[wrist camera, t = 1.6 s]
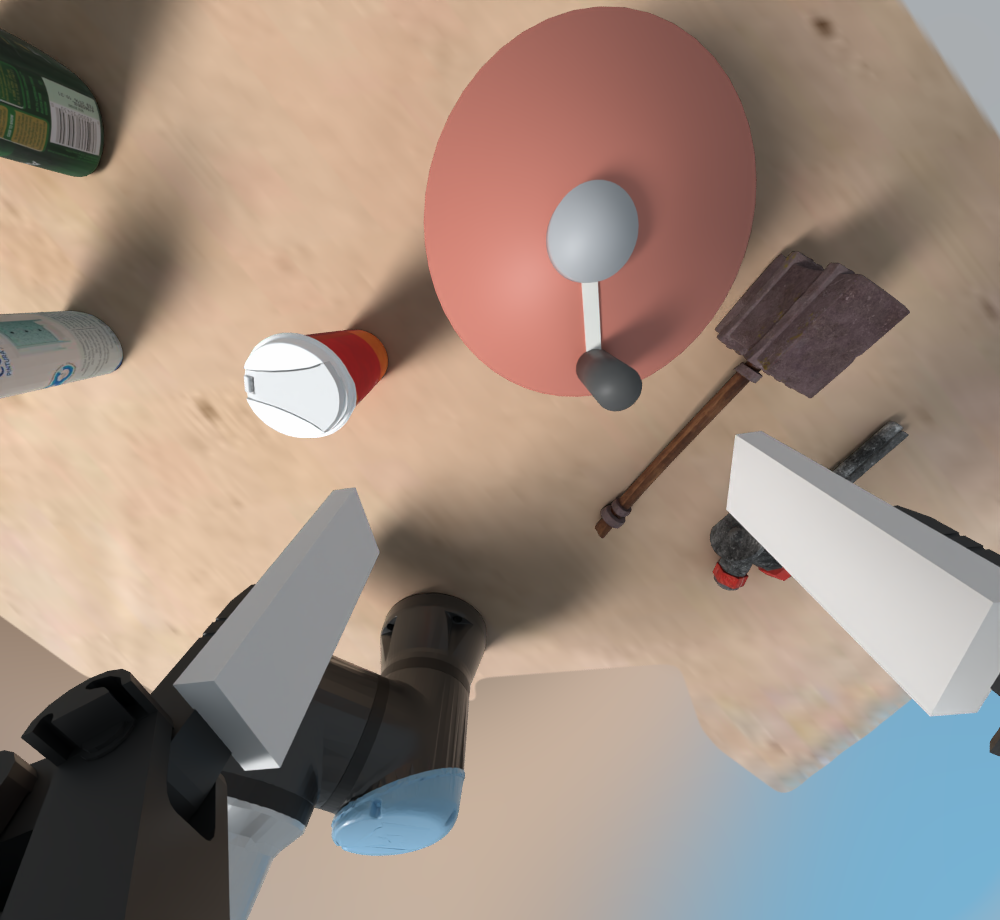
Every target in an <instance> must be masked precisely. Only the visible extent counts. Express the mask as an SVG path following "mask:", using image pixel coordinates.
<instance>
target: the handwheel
mask: <svg viewBox="0 0 1000 920" xmlns="http://www.w3.org/2000/svg"><path fill="white" fill-rule="evenodd" d="M755 200H756V165H755V152H754V147H753V142H752V137H751V132H750V127H749V124H748V121H747V118H746V115H745V112H744V109H743V106H742V103H741V101H740V99H739V97H738V95H737V93H736V91H735V89H734V87H733V85H732V83H731V81H730V79H729V77H728V76H727V74H726V73H725V72H724V70H723V69H722V68H721V66H720V65H719V63H718V62H717V61H716V59H715V58H714V56H713V55H712V54H711V53H710V52H708V51H707V50H706V49H705V48H704V47H703V46H702V45H701V44H700V43H699V42H698V41H697V40H696V39H695V38H694V37H693V36H691V35H690V34H688V33H687V32H685V31H684V30H682V29H681V28H679V27H678V26H677V25H675V24H673V23H671V22H669V21H667V20H664V19H662V18H660V17H658V16H655V15H653V14H651V13H647V12H643V11H638V10H634V9H630V8H625V7H593V8H586V9H579V10H573V11H570V12H567V13H564V14H561V15H558V16H555V17H552V18H549V19H546V20H545V21H543V22H541V23H539V24H537V25H535V26H533V27H531V28H529V29H528V30H526V31H524V32H522V33H521V34H520V35H518V36H517V37H516V38H514V39H513V40H511V41H510V42H509V43H507V44H506V45H505V46H503V47H502V48H501V49H500V50H499V51H498V52H497V53H496V54H495V55H494V56H493V57H492V58H491V59H490V60H489V61H488V62H487V63H486V64H485V65H484V66H483V67H482V68H481V69H480V70H479V71H478V73H477V74H476V75H475V77H474V78H473V79H472V80H471V82H470V83H469V84H468V86H467V87H466V88H465V90H464V91H463V92H462V94H461V96H460V98H459V99H458V101H457V103H456V105H455V106H454V108H453V110H452V111H451V113H450V115H449V117H448V119H447V122H446V124H445V126H444V129H443V131H442V133H441V136H440V138H439V140H438V143H437V146H436V150H435V153H434V157H433V160H432V163H431V167H430V171H429V177H428V183H427V188H426V194H425V210H424V233H425V247H426V253H427V259H428V266H429V270H430V274H431V277H432V281H433V284H434V288H435V291H436V294H437V296H438V298H439V301H440V303H441V306H442V308H443V311H444V312H445V314H446V316H447V318H448V319H449V321H450V323H451V325H452V327H453V328H454V330H455V331H456V333H457V334H458V335H459V337H460V338H461V339H462V341H463V342H464V344H465V345H466V346H467V347H468V348H469V349H470V350H471V351H472V352H473V353H474V354H475V355H476V357H477V358H478V359H479V360H481V361H482V362H483V363H484V364H485V365H487V366H488V367H489V368H490V369H492V370H493V371H494V372H496V373H497V374H499V375H501V376H502V377H504V378H506V379H507V380H509V381H511V382H513V383H515V384H517V385H520V386H522V387H524V388H527V389H530V390H533V391H537V392H540V393H544V394H550V395H557V396H575V397H579V396H589V395H593V397H594V398H595V399H596V400H597V402H598V403H599V404H600V405H601V406H602V407H603V408H605V409H607V410H610V411H621V410H624V409H627V408H628V407H630V406H631V405H633V404H634V403H635V402H636V400H637V399H638V397H639V396H640V393H641V390H642V381H641V380H642V379H644V378H646V377H648V376H650V375H652V374H653V373H655V372H656V371H658V370H659V369H661V368H662V367H664V366H666V365H667V364H668V363H669V362H671V361H672V360H673V359H674V358H676V357H677V356H678V355H679V354H681V353H682V352H683V351H684V350H685V349H686V348H687V347H688V346H689V345H690V344H691V343H692V342H693V341H694V340H695V339H696V338H697V337H698V336H699V335H700V333H701V332H702V331H703V330H704V328H705V327H706V326H707V325H708V323H709V322H710V321H711V320H712V318H713V317H714V315H715V314H716V312H717V311H718V309H719V308H720V306H721V305H722V303H723V301H724V300H725V298H726V296H727V294H728V292H729V290H730V288H731V286H732V284H733V282H734V280H735V279H736V276H737V273H738V271H739V268H740V266H741V263H742V261H743V258H744V255H745V252H746V248H747V244H748V241H749V237H750V233H751V229H752V223H753V216H754V210H755Z"/></svg>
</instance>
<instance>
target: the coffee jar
mask: <svg viewBox="0 0 1000 920" xmlns="http://www.w3.org/2000/svg"><path fill="white" fill-rule="evenodd" d="M103 144H104V129H103V124H102V118H101V114H100V110H99V107H98V105H97V102H96V100H95V98H94V96H93V95H92V93H91V91H90V90H89V89H88V87H87V86H86V85H85V84H84V83H83V82H82V81H81V80H80V79H79V78H78V77H77V76H76V75H75V74H74V73H72V72H71V71H70V70H69V69H67V68H66V67H65V66H63V65H62V64H60V63H59V62H57V61H56V60H54V59H53V58H51V57H50V56H49V55H47V54H45V53H44V52H42V51H40V50H39V49H37V48H35V47H34V46H32V45H30V44H28V43H27V42H25V41H23V40H21V39H19V38H17V37H16V36H14V35H12V34H10V33H8V32H6V31H4V30H2V29H0V157H3V158H7V159H10V160H14V161H18V162H21V163H25V164H29V165H33V166H36V167H40V168H44V169H47V170H51V171H55V172H58V173H62V174H66V175H70V176H74V177H83V176H87V175H89V174H91V173H92V172H94V171H95V169H96V168H97V166H98V164H99V161H100V158H101V155H102V151H103Z"/></svg>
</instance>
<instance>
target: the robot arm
mask: <svg viewBox="0 0 1000 920" xmlns="http://www.w3.org/2000/svg"><path fill="white" fill-rule="evenodd" d="M726 510H727V511H728V512H729V513H730V514H731V515H732V516H733V517H734V518H735V519H736V520H737V521H738V522H739V523H740V524H741V525H742V526H743V527H744V528H745V529H746V530H747V531H748V532H749V533H750V534H751V535H752V536H753V537H754V538H755V539H756V540H757V541H758V542H759V543H760V544H761V545H762V546H763V547H764V548H765V549H766V550H767V551H768V552H769V553H770V554H771V555H772V556H773V557H774V558H775V559H776V560H777V561H778V562H779V563H780V564H781V565H782V566H783V567H784V569H785V570H786V571H787V572H788V573H789V574H790V575H791V576H792V577H793V578H794V579H795V580H796V581H797V582H798V583H799V584H800V585H801V586H802V587H803V588H804V589H805V590H806V591H807V592H808V593H809V594H810V595H811V596H812V597H813V598H814V599H815V600H816V601H817V602H818V603H819V604H820V605H821V606H822V607H823V608H824V609H825V610H826V611H827V612H828V613H829V614H830V615H831V616H832V617H833V618H834V619H835V620H836V621H837V622H838V623H839V624H840V625H841V626H842V627H843V628H844V629H845V630H846V631H847V632H848V633H849V634H850V636H851V637H852V638H853V639H854V640H855V641H856V642H857V643H858V644H859V645H860V646H861V647H862V648H863V649H864V650H865V651H866V652H867V653H868V654H869V655H870V656H871V657H872V658H873V659H874V660H875V661H876V662H877V663H878V664H879V665H880V666H881V667H882V668H883V669H884V670H885V671H886V672H887V673H888V674H889V675H890V676H891V677H892V678H893V679H894V680H895V681H896V682H897V683H898V684H899V685H900V686H901V687H902V688H903V689H904V690H905V691H906V692H907V693H908V694H909V695H910V696H911V697H912V698H913V699H914V700H915V701H916V703H918V705H919V706H920V707H921V708H922V709H923V710H925V712H926V713H927V714H928V715H929V716H940V715H953V714H965V713H976V712H978V710H979V709H980V707H981V706H982V704H983V703H984V701H985V700H986V698H987V696H988V695H989V693H990V692H991V690H993V691H994V692H995V693H997V694H998V695H999V696H1000V555H999V554H997V553H995V552H994V551H992V550H990V549H987V550H985V549H984V548H983V545H981V544H979V543H977V542H975V541H973V540H972V539H970V538H968V537H966V536H960V535H959V532H957V531H955V530H953V529H951V528H950V527H948V526H946V525H944V524H942V523H940V522H939V521H937V520H935V519H933V518H931V517H929V516H926V515H923V514H920V513H917V512H915V511H912V510H909V509H906V508H903V507H900V506H898V505H897V506H892V505H890V504H888V503H886V502H885V501H883V500H881V499H879V498H878V497H876V496H874V495H873V494H871V493H869V492H867V491H866V490H864V489H862V488H860V487H859V486H857V485H855V484H853V483H852V482H850V481H848V480H846V479H845V478H843V477H841V476H839V475H838V474H836V473H834V472H832V471H831V470H829V469H827V468H825V467H824V466H822V465H820V464H818V463H817V462H815V461H813V460H811V459H810V458H808V457H806V456H804V455H803V454H801V453H799V452H797V451H796V450H794V449H792V448H790V447H789V446H787V445H785V444H783V443H782V442H780V441H778V440H776V439H775V438H773V437H771V436H769V435H768V434H766V433H764V432H762V431H757V432H750V433H743V434H736V435H735V442H734V450H733V459H732V467H731V475H730V484H729V492H728V500H727V508H726ZM379 553H380V552H379V549H378V547H377V544H376V541H375V539H374V536H373V533H372V531H371V528H370V525H369V523H368V520H367V517H366V515H365V512H364V509H363V507H362V504H361V501H360V499H359V496H358V493H357V491H356V488H355V487H354V488H347V489H340V490H333V491H332V493H331V494H330V495H329V496H328V497H327V499H326V500H325V501H324V502H323V503H322V505H321V506H320V507H319V508H318V510H317V511H316V512H315V513H314V514H313V516H312V517H311V518H310V519H309V520H308V522H307V523H306V524H305V525H304V526H303V528H302V529H301V530H300V531H299V533H298V534H297V535H296V536H295V537H294V539H293V540H292V541H291V542H290V543H289V545H288V546H287V547H286V548H285V549H284V551H283V552H282V553H281V554H280V556H279V557H278V558H277V559H276V560H275V562H274V563H273V564H272V565H271V566H270V568H269V569H268V570H267V571H266V572H265V574H264V575H263V576H262V577H261V579H260V580H259V581H258V582H257V583H256V584H254V585H251V586H249V587H248V588H247V589H245V590H244V591H243V592H242V593H240V594H239V595H238V596H237V597H235V598H234V599H233V600H232V601H230V603H229V604H228V605H227V606H226V607H225V608H224V610H223V611H222V612H221V613H220V614H219V615H218V617H217V618H216V621H215V622H212V624H211V625H210V626H209V627H208V628H207V629H206V631H205V632H204V633H203V637H202V638H199V639H198V640H197V641H196V642H195V643H194V644H193V646H192V647H191V648H190V649H189V650H188V651H187V653H186V654H185V655H184V656H183V657H182V658H181V660H180V661H179V662H178V663H177V664H176V665H175V667H174V668H173V669H172V670H171V671H170V672H169V674H168V675H167V676H166V677H165V678H164V679H163V680H162V682H161V683H160V684H159V685H158V686H157V687H156V689H155V690H154V691H153V692H152V693H151V694H149V693H148V692H147V691H146V689H145V688H144V687H143V686H142V685H141V684H140V683H139V682H138V680H137V679H136V678H135V677H134V676H133V675H132V674H131V673H130V672H128V671H126V670H123V669H118V670H112V671H107V672H104V673H102V674H99V675H97V676H94V677H92V678H90V679H88V680H86V681H84V682H83V683H81V684H79V685H78V686H76V687H74V688H72V689H71V690H69V691H68V692H66V693H65V694H63V695H62V696H61V697H59V698H58V699H57V700H55V701H54V702H53V703H51V704H50V705H49V706H48V707H47V708H46V709H45V710H44V711H43V712H42V713H40V714H39V715H38V716H37V717H36V718H35V719H34V720H33V721H32V722H31V724H30V726H29V727H28V728H27V730H26V731H25V732H24V734H23V735H22V737H21V738H22V739H23V740H25V741H26V742H27V743H28V744H30V745H31V746H32V747H33V748H34V749H36V750H37V751H38V752H39V753H41V754H42V755H43V756H44V757H46V759H43V760H40V761H38V762H35V763H32V764H30V765H29V764H28V763H27V762H26V761H24V760H23V759H22V758H20V757H19V756H18V755H17V754H15V753H14V752H10V751H5V750H4V751H0V920H247V919H248V916H249V914H250V912H251V910H252V907H253V905H254V903H255V900H256V898H257V896H258V893H259V891H260V889H261V886H262V884H263V882H264V880H265V877H266V875H267V872H268V870H269V868H270V866H271V863H272V861H273V859H274V858H275V857H276V856H277V854H278V853H279V852H280V851H282V850H283V849H284V848H285V847H287V846H288V845H289V844H291V843H292V842H293V841H295V840H296V839H297V838H299V837H300V836H301V835H302V834H304V831H305V829H306V826H307V824H308V822H309V819H310V817H311V814H312V812H313V809H314V808H318V809H322V810H325V811H328V812H331V813H334V814H335V816H334V819H333V821H332V839H333V841H334V843H335V844H336V845H337V846H342V849H343V850H345V851H348V852H351V853H356V854H361V855H372V856H373V855H374V856H375V855H376V856H378V855H379V856H381V855H395V854H403V853H408V852H412V851H416V850H419V849H422V848H425V847H427V846H430V845H432V844H434V843H436V842H437V841H439V840H440V839H442V838H443V837H444V836H445V835H447V834H448V832H449V831H450V830H451V829H452V827H453V825H454V824H455V822H456V819H457V816H458V812H459V805H460V799H461V792H462V785H463V781H464V778H465V772H464V760H465V747H466V734H467V719H468V705H469V693H470V685H471V683H472V680H473V678H474V676H475V673H476V671H477V668H478V666H479V664H480V661H481V659H482V656H483V654H484V651H485V646H486V626H485V623H484V621H483V619H482V617H481V615H480V614H479V613H478V612H477V611H476V610H475V609H474V608H473V607H472V606H471V605H469V604H468V603H466V602H464V601H462V600H460V599H458V598H455V597H452V596H449V595H444V594H436V593H426V594H418V595H414V596H411V597H408V598H406V599H404V600H402V601H400V602H398V603H397V604H396V605H395V606H393V607H392V609H391V610H390V611H389V613H388V614H387V616H386V619H385V622H384V625H383V628H382V631H381V637H380V644H381V675H378V674H376V673H374V672H372V671H369V670H367V669H364V668H362V667H359V666H357V665H355V664H352V663H350V662H347V661H345V660H342V659H340V658H338V657H336V656H333V653H334V650H335V648H336V646H337V644H338V642H339V640H340V637H341V635H342V633H343V631H344V629H345V627H346V624H347V622H348V620H349V618H350V616H351V614H352V611H353V609H354V607H355V605H356V603H357V601H358V598H359V596H360V594H361V592H362V590H363V588H364V585H365V583H366V581H367V579H368V577H369V575H370V573H371V570H372V568H373V566H374V564H375V562H376V560H377V557H378V555H379ZM990 753H993V754H995V755H998V756H1000V728H999V730H998V731H997V732H996V734H995V735H994V736H993V738H992V739H991V741H990Z"/></svg>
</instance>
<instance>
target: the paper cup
mask: <svg viewBox="0 0 1000 920" xmlns="http://www.w3.org/2000/svg"><path fill="white" fill-rule="evenodd" d="M387 366H388V356H387V352H386V350H385V348H384V346H383V344H382V343H381V342H380V340H379V339H378V338H377V337H375V336H374V335H372V334H371V333H369V332H366V331H363V330H343V331H334V332H326V333H318V334H310V335H302V334H297V333H280V334H275V335H272V336H270V337H267V338H265V339H264V340H262V341H261V342H259V343H258V344H257V346H256V347H255V348H254V349H253V351H252V352H251V354H250V356H249V358H248V359H247V361H246V363H245V366H244V369H245V375H244V383H245V391H246V392H247V393H248V398H247V401H248V403H249V405H250V407H251V408H252V410H253V411H254V412H255V414H256V415H257V416H258V417H259V418H260V419H261V420H262V421H263V422H264V423H265V424H267V425H268V426H270V427H271V428H272V429H274V430H276V431H278V432H280V433H283V434H285V435H289V436H293V437H299V438H318V437H323V436H327V435H330V434H332V433H334V432H336V431H337V430H339V429H340V428H341V427H342V426H343V425H344V424H345V423H346V422H347V421H348V419H349V417H350V415H351V413H352V412H353V410H354V408H355V407H356V406H357V404H358V403H359V402H360V401H361V400H362V399H363V398H364V397H365V396H366V395H367V394H368V393H369V392H370V391H371V390H372V389H373V387H374V386H375V385H376V384H377V383H378V382H379V381H380V380H381V378H382V377H383V376H384V374H385V372H386V370H387Z"/></svg>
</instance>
